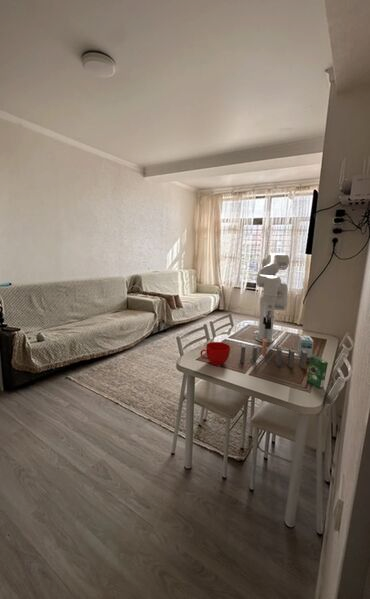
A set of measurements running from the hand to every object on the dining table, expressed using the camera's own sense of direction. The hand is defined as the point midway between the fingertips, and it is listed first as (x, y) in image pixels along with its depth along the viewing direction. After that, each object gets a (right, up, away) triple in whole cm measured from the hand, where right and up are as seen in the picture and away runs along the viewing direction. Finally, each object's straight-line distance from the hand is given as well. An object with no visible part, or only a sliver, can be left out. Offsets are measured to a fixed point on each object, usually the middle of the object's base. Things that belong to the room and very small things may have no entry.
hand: (266, 326), depth 167 cm
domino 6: (+16, -21, -12) cm, 29 cm away
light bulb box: (+25, -18, +6) cm, 31 cm away
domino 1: (-16, -19, -7) cm, 26 cm away
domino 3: (-1, -17, +4) cm, 17 cm away
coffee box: (+14, -25, -32) cm, 43 cm away
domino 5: (+10, -20, -11) cm, 25 cm away
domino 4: (+3, -20, -10) cm, 23 cm away
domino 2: (-10, -19, -8) cm, 23 cm away
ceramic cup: (-33, -19, -13) cm, 40 cm away
